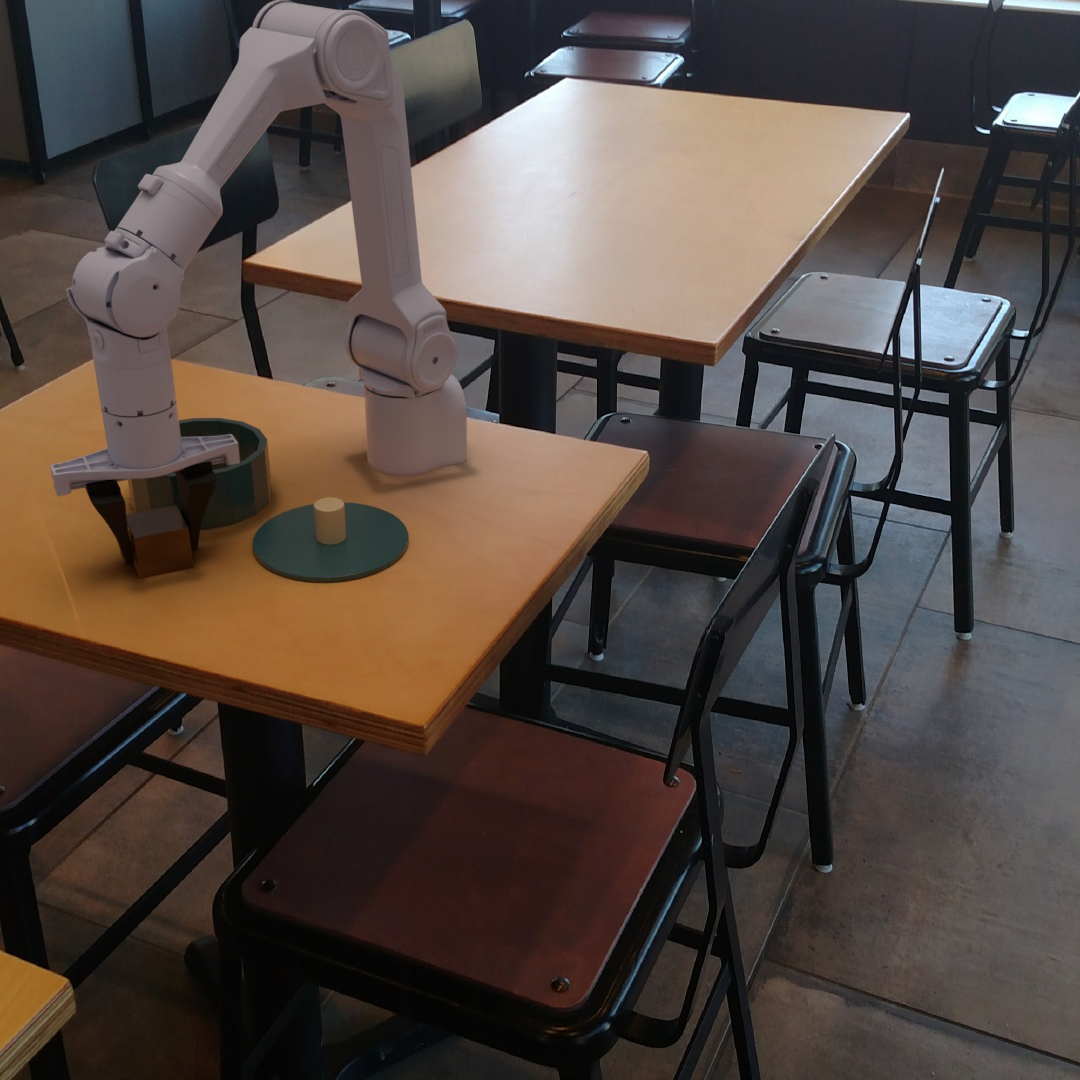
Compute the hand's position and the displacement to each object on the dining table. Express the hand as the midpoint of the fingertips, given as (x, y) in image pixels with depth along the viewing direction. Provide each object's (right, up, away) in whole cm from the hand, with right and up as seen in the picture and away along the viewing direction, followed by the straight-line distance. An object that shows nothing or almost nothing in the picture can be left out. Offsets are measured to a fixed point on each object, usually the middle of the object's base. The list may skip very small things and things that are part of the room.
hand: (160, 552), depth 105 cm
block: (0, -1, +1) cm, 1 cm away
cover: (+14, +1, +4) cm, 14 cm away
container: (+1, +4, +11) cm, 12 cm away
